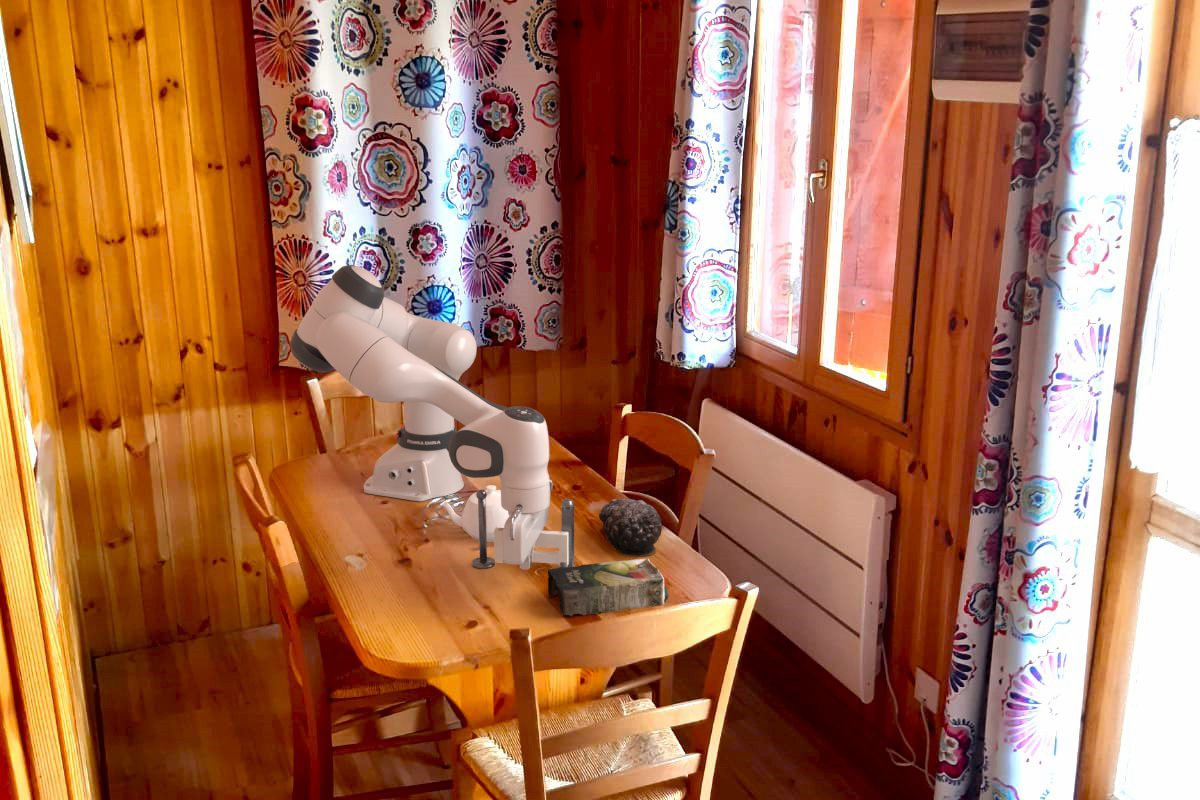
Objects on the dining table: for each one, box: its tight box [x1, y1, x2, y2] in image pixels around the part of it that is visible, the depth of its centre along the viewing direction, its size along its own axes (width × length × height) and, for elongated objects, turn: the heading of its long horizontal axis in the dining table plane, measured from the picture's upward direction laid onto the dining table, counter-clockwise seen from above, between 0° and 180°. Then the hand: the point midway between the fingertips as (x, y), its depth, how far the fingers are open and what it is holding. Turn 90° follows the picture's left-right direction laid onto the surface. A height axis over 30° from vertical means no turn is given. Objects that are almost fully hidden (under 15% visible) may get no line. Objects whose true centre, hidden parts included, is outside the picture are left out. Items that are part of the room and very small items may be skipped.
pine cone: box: [598, 498, 663, 557], centre depth 218 cm, size 10×18×10 cm, turn 29°
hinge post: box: [471, 488, 496, 570], centre depth 207 cm, size 4×4×15 cm
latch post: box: [560, 498, 575, 567], centre depth 207 cm, size 2×2×14 cm
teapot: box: [439, 484, 509, 543], centre depth 222 cm, size 20×12×10 cm, turn 109°
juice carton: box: [547, 558, 669, 618], centre depth 194 cm, size 20×10×6 cm, turn 107°
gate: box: [493, 527, 569, 568], centre depth 206 cm, size 14×2×7 cm, turn 82°
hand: (526, 566), depth 201 cm, fingers closed
